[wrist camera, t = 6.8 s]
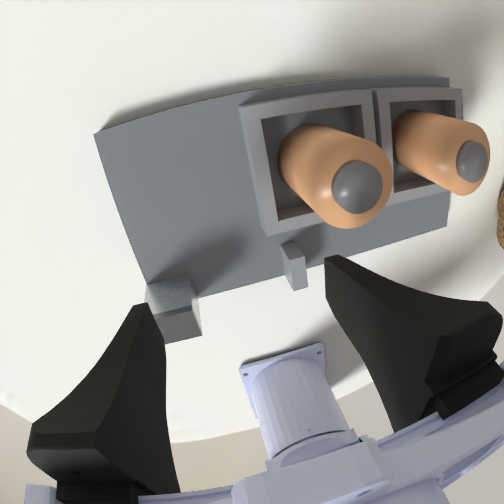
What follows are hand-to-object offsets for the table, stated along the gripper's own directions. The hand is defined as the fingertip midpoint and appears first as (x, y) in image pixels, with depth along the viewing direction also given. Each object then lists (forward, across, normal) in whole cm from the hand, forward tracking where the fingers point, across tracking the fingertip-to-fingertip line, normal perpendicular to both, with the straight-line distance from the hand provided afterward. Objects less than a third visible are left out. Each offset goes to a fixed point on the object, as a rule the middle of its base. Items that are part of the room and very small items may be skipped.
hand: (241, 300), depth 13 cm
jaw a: (+8, -14, -3) cm, 17 cm away
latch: (+8, +4, +4) cm, 10 cm away
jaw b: (+8, -6, -3) cm, 11 cm away
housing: (+9, -6, -1) cm, 11 cm away
